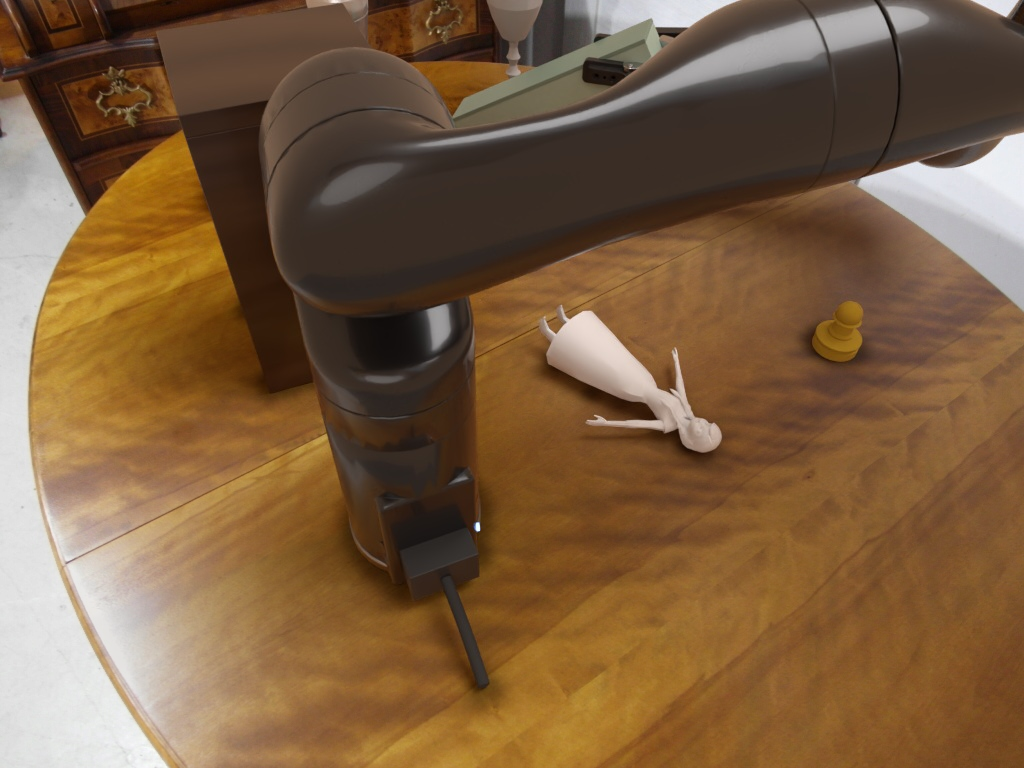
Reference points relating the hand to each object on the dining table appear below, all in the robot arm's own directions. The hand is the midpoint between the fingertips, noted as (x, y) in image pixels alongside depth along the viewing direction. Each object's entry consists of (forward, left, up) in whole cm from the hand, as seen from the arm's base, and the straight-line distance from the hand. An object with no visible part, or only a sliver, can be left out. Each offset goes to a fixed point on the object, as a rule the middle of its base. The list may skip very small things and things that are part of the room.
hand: (589, 56), depth 75 cm
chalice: (+16, +1, -14) cm, 22 cm away
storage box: (+2, +2, -5) cm, 6 cm away
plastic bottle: (+19, +20, -14) cm, 31 cm away
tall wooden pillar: (-13, +31, -14) cm, 36 cm away
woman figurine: (-30, +10, -14) cm, 34 cm away
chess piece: (-32, -10, -14) cm, 36 cm away
